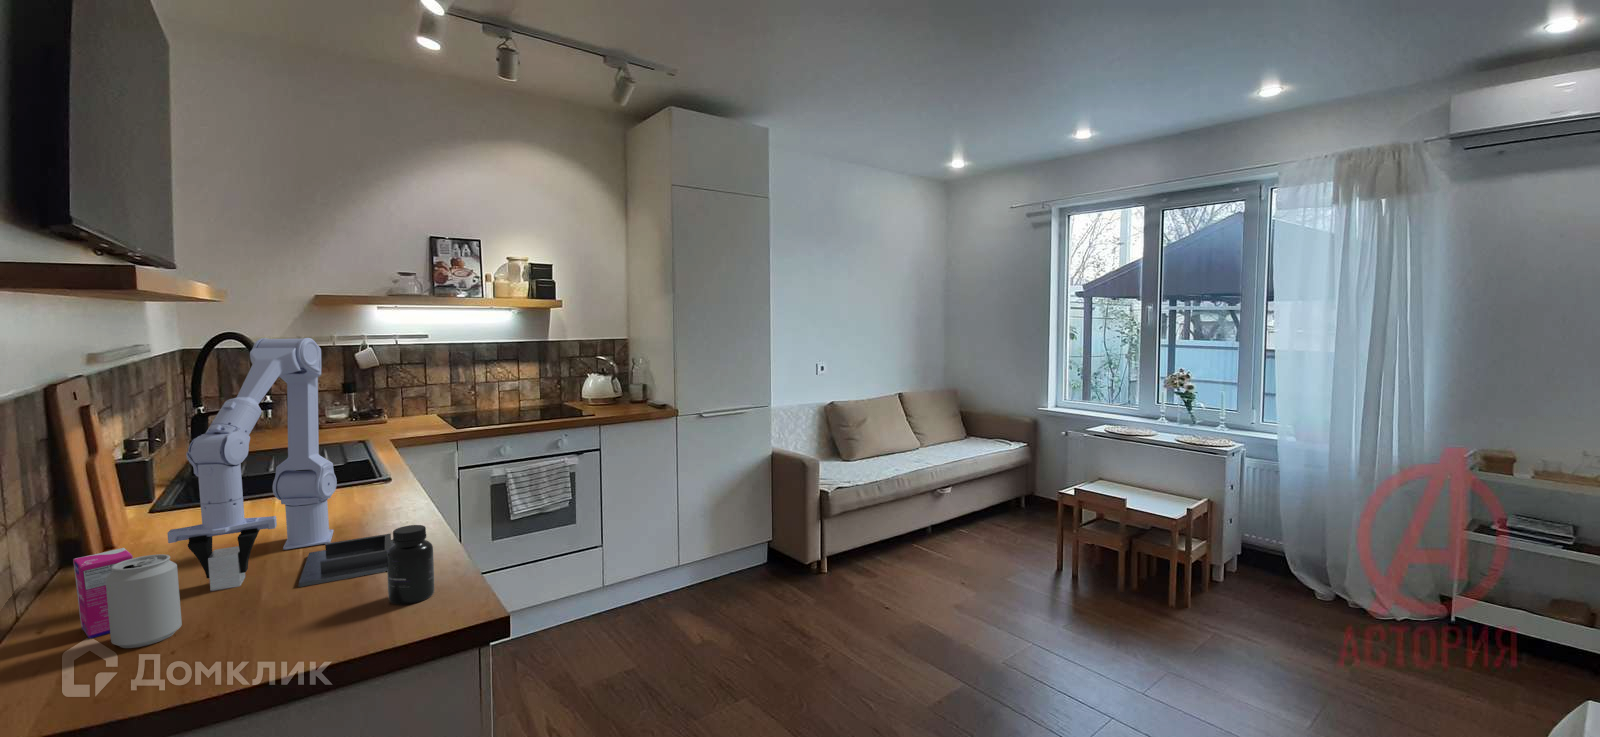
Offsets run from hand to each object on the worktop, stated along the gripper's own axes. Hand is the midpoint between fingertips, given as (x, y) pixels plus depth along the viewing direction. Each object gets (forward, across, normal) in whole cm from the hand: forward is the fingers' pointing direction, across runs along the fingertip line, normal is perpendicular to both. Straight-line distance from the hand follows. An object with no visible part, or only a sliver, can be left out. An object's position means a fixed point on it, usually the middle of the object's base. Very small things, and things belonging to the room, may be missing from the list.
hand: (227, 573), depth 117 cm
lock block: (+2, 0, 0) cm, 2 cm away
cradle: (+2, +19, 0) cm, 19 cm away
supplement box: (+2, -12, -12) cm, 17 cm away
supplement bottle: (+2, +28, -25) cm, 38 cm away
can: (+2, -6, -20) cm, 21 cm away
